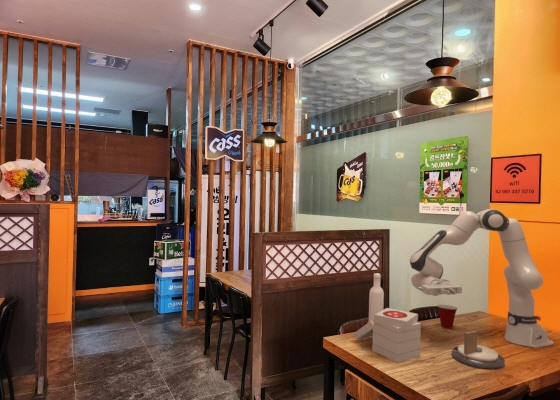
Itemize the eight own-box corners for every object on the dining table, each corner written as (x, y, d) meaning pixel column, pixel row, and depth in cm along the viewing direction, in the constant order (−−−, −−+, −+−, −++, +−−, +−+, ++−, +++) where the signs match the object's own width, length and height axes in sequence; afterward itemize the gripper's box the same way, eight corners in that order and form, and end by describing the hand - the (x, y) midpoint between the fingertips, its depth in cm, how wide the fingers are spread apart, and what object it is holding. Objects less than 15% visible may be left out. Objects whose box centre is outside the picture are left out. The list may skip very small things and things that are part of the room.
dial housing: (479, 348, 184) (479, 344, 184) (516, 367, 163) (516, 362, 163) (441, 351, 179) (442, 346, 179) (474, 371, 158) (474, 366, 158)
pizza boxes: (377, 336, 198) (378, 301, 198) (426, 357, 172) (427, 317, 172) (349, 342, 188) (350, 305, 188) (397, 365, 162) (398, 323, 162)
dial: (472, 345, 182) (473, 323, 182) (506, 358, 168) (506, 334, 168) (449, 350, 174) (450, 327, 174) (482, 364, 160) (482, 339, 160)
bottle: (366, 325, 213) (367, 272, 213) (380, 325, 214) (381, 272, 214) (371, 330, 205) (372, 275, 206) (385, 330, 206) (386, 275, 206)
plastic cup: (458, 326, 217) (459, 305, 217) (455, 331, 208) (456, 309, 208) (438, 322, 223) (438, 302, 223) (434, 327, 214) (435, 306, 214)
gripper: (416, 281, 195) (433, 287, 182) (450, 279, 200) (469, 285, 187) (416, 293, 195) (433, 300, 182) (450, 291, 200) (469, 298, 187)
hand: (452, 292), depth 184 cm, fingers closed
